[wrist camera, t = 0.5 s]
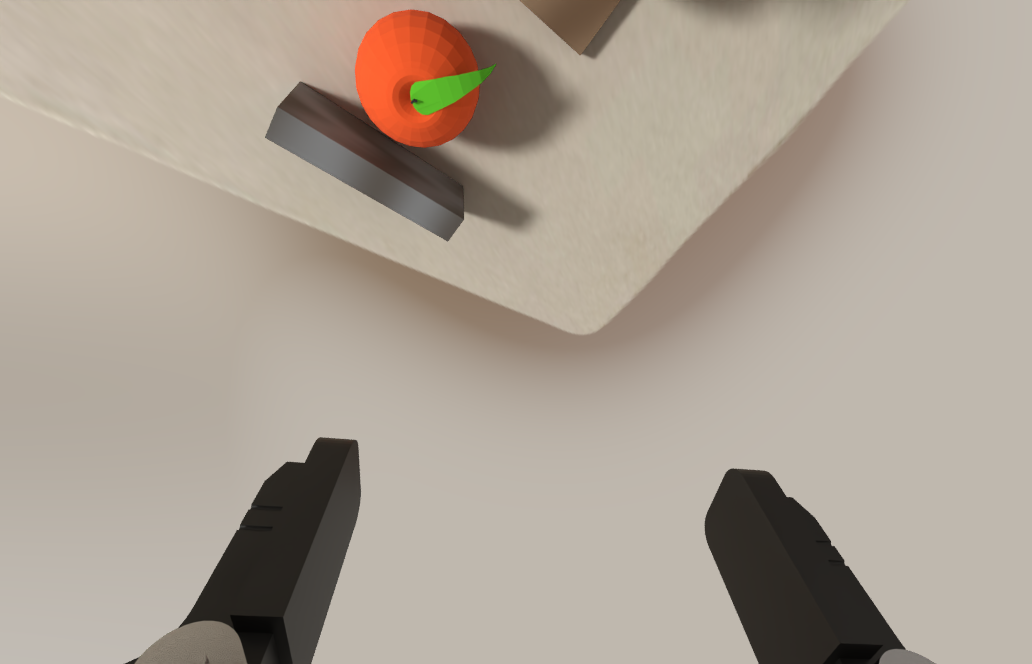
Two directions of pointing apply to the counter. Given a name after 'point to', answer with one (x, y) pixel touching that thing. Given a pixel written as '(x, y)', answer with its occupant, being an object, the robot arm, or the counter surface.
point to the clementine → (418, 78)
